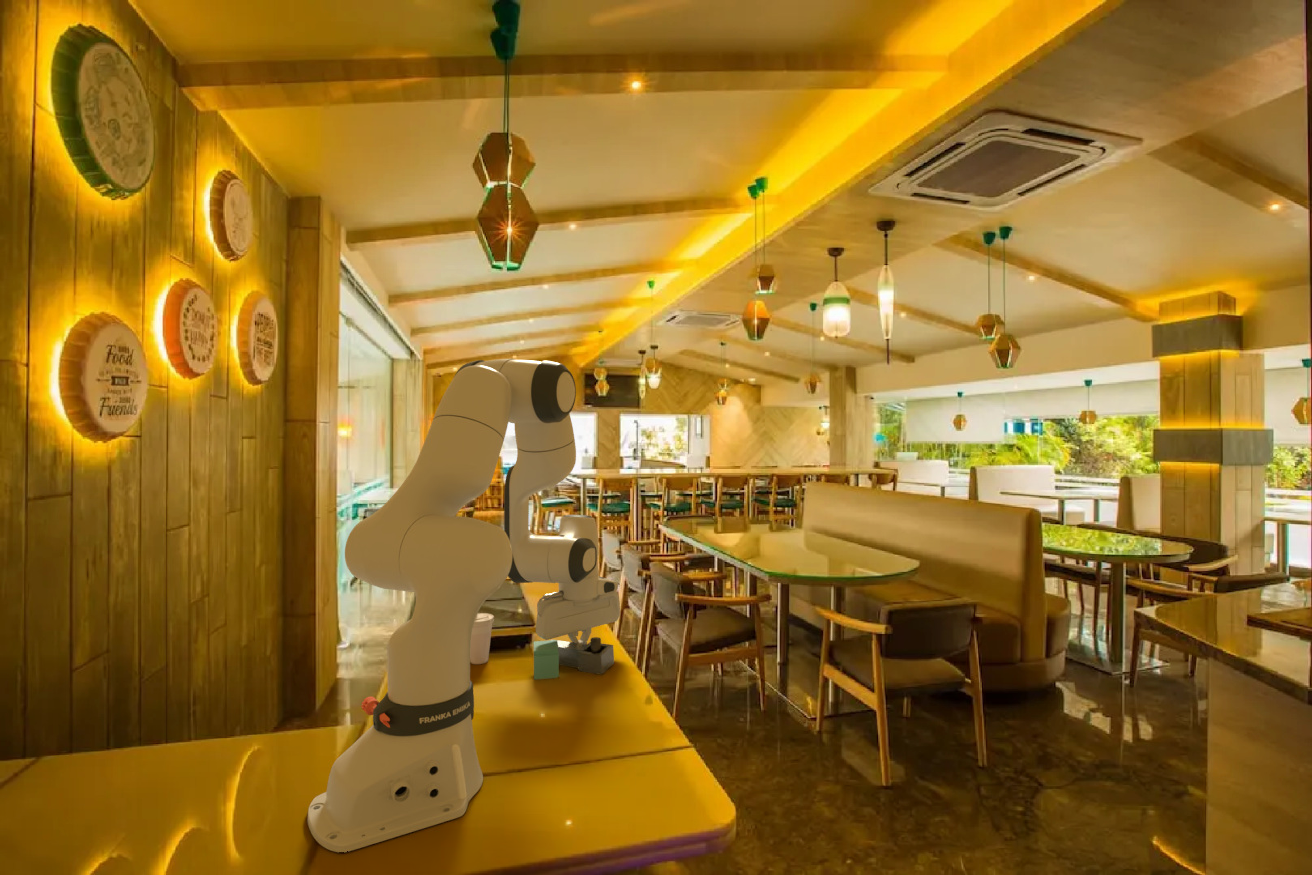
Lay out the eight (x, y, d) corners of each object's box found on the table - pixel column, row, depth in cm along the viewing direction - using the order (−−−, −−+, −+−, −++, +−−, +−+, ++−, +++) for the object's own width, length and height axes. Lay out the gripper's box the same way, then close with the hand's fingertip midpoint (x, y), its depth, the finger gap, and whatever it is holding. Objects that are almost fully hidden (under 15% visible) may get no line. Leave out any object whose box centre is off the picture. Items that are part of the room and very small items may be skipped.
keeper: (557, 664, 136) (557, 639, 136) (558, 677, 129) (558, 651, 129) (533, 666, 135) (533, 641, 135) (534, 679, 128) (533, 653, 128)
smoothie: (464, 657, 141) (463, 595, 141) (493, 654, 143) (493, 592, 142) (464, 668, 135) (463, 602, 134) (495, 664, 137) (494, 600, 136)
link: (614, 662, 136) (613, 644, 135) (602, 674, 131) (601, 655, 130) (555, 654, 141) (554, 637, 141) (542, 665, 136) (540, 647, 136)
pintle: (594, 669, 133) (594, 641, 133) (588, 666, 135) (588, 638, 135) (603, 667, 135) (602, 639, 135) (597, 664, 136) (596, 636, 136)
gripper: (545, 599, 130) (546, 665, 130) (623, 581, 143) (624, 642, 143) (529, 593, 134) (530, 657, 135) (607, 576, 148) (607, 635, 148)
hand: (579, 649), depth 139 cm, fingers closed
